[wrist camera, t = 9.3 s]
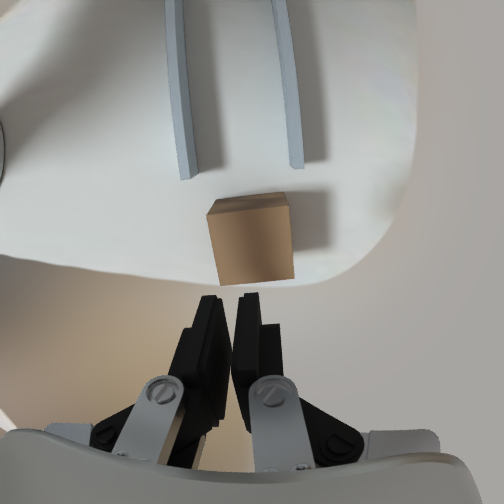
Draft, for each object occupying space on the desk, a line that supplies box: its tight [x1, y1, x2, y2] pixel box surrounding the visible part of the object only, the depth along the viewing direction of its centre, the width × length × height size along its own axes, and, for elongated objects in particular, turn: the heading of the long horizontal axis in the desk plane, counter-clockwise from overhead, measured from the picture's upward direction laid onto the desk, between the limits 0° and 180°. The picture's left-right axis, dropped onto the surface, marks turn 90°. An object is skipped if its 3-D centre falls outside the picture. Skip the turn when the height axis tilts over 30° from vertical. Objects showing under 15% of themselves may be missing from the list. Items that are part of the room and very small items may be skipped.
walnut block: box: [206, 192, 294, 286], centre depth 23 cm, size 6×6×5 cm
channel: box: [165, 0, 304, 180], centre depth 16 cm, size 10×29×3 cm, turn 5°
